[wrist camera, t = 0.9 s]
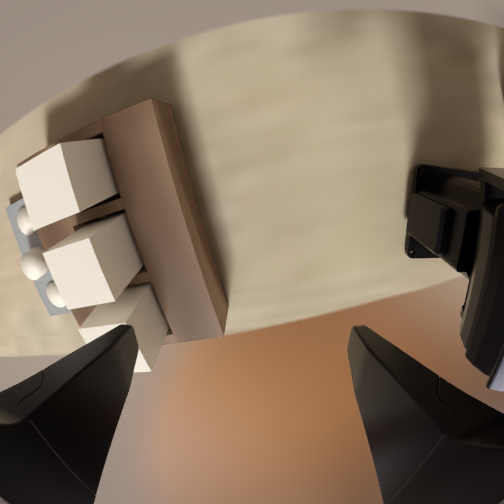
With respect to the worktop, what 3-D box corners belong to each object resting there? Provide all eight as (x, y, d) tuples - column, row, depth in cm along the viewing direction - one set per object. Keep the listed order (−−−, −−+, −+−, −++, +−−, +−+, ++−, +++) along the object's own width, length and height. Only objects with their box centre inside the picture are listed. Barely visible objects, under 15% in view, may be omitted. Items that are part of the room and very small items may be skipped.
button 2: (154, 277, 18) (125, 322, 13) (172, 319, 19) (151, 371, 15) (112, 285, 18) (78, 328, 14) (131, 325, 20) (104, 373, 15)
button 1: (109, 137, 15) (60, 143, 10) (124, 189, 16) (80, 212, 11) (68, 156, 15) (15, 169, 11) (82, 205, 16) (33, 230, 12)
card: (42, 188, 18) (25, 195, 16) (88, 306, 22) (76, 320, 20) (10, 205, 19) (-7, 213, 17) (53, 312, 22) (41, 325, 20)
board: (170, 104, 16) (151, 98, 13) (228, 306, 21) (223, 336, 18) (47, 157, 17) (17, 164, 14) (111, 325, 22) (94, 351, 19)
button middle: (130, 209, 17) (88, 237, 12) (148, 259, 18) (115, 301, 13) (88, 223, 17) (42, 253, 12) (106, 269, 18) (67, 309, 13)
